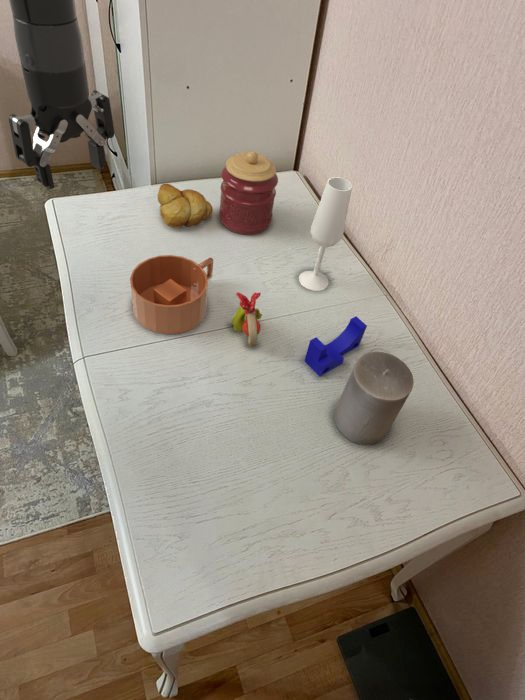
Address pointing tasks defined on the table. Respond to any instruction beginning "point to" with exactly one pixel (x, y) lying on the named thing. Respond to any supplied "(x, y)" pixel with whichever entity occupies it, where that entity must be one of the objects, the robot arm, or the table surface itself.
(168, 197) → the bread roll
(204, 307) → the measuring cup
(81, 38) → the robot arm
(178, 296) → the orange block
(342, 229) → the champagne flute
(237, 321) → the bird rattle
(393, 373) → the pillar candle
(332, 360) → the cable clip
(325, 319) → the table surface
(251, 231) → the kitchen canister
